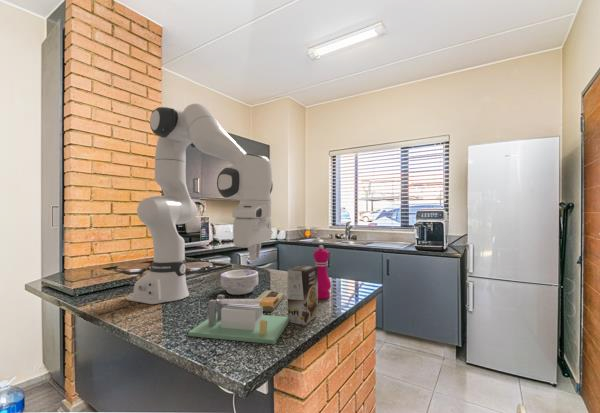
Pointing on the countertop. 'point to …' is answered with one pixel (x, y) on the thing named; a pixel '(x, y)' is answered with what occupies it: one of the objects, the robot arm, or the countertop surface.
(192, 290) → the countertop surface
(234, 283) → the paper bowls
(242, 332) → the heatsink board
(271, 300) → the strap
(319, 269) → the pepper mill
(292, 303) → the coffee box
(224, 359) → the countertop surface
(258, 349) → the countertop surface
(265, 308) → the computer
